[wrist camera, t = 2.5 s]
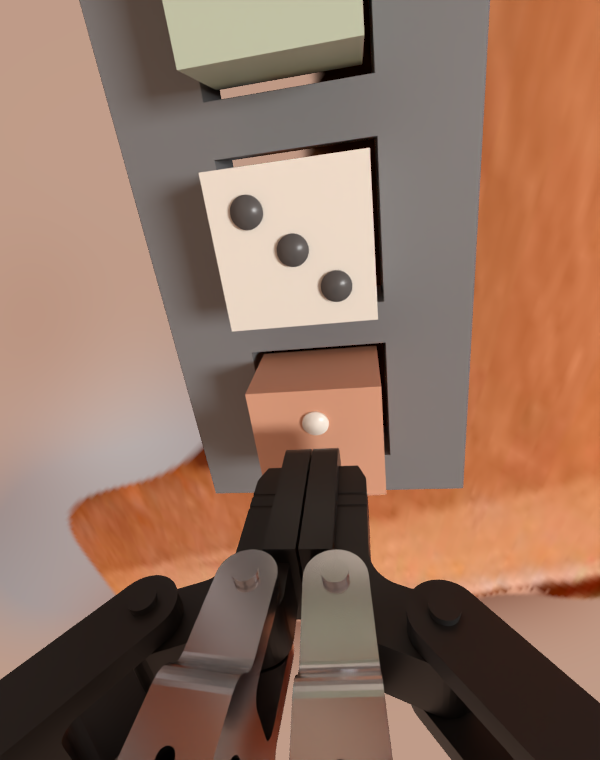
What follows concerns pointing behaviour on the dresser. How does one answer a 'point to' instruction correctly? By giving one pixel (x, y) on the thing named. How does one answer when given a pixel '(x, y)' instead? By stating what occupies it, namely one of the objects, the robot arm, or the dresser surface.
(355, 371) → the terracotta button
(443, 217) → the button panel
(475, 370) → the dresser surface
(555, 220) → the dresser surface
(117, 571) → the dresser surface
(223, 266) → the cream button
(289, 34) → the sage button
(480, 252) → the dresser surface
